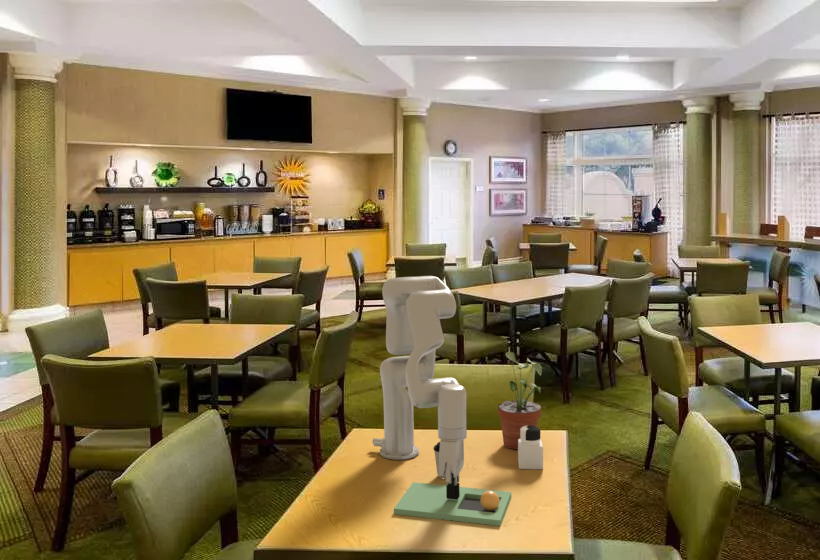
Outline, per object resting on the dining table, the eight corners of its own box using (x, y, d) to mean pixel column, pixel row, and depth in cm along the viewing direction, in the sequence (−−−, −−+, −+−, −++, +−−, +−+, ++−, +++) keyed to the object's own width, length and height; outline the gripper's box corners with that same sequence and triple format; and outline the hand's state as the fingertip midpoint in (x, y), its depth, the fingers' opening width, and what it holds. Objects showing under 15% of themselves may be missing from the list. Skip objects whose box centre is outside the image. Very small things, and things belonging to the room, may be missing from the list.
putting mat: (393, 513, 188) (393, 508, 188) (413, 487, 206) (413, 482, 205) (500, 526, 180) (500, 520, 180) (511, 497, 198) (511, 492, 197)
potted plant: (534, 456, 228) (534, 347, 224) (490, 448, 236) (490, 343, 232) (552, 442, 241) (552, 338, 237) (509, 434, 249) (509, 335, 245)
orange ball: (476, 506, 187) (488, 492, 186) (476, 497, 192) (488, 483, 190) (491, 518, 187) (503, 504, 186) (491, 508, 192) (503, 495, 191)
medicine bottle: (541, 461, 224) (541, 423, 223) (543, 469, 217) (543, 431, 216) (517, 460, 225) (517, 423, 223) (519, 469, 218) (519, 430, 216)
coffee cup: (455, 481, 209) (455, 448, 208) (431, 480, 210) (431, 447, 209) (458, 472, 216) (458, 440, 215) (435, 471, 217) (435, 439, 216)
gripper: (445, 422, 199) (446, 485, 201) (431, 439, 185) (432, 508, 187) (472, 424, 197) (472, 488, 199) (459, 442, 183) (460, 511, 185)
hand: (453, 497), depth 193 cm, fingers closed
